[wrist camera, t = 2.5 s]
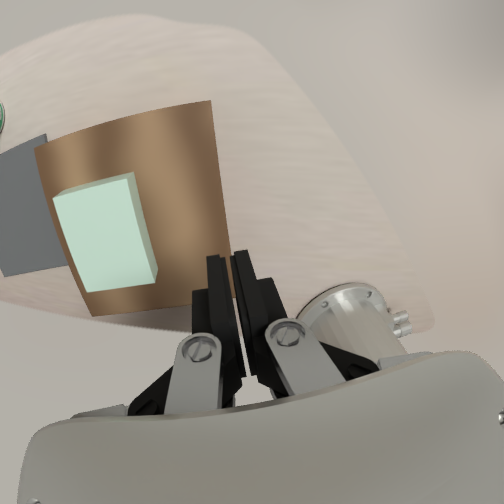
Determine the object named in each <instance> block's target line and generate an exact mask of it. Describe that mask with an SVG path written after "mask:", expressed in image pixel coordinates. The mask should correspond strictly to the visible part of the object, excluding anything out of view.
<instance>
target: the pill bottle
mask: <svg viewBox="0 0 504 504" xmlns="http://www.w3.org/2000/svg"><path fill="white" fill-rule="evenodd" d="M3 123H4V108H3V105H2V103H1V101H0V132H1V130H2V127H3Z"/></svg>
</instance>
